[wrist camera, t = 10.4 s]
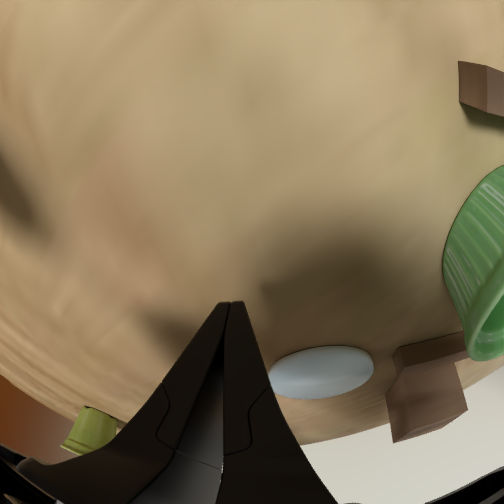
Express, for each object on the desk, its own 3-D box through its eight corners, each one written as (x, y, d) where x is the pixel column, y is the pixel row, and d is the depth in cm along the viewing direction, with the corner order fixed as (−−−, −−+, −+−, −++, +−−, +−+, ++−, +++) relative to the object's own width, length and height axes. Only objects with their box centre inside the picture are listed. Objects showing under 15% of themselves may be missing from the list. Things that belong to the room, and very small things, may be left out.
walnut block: (430, 383, 19) (441, 428, 15) (385, 394, 20) (393, 443, 16) (452, 357, 16) (467, 409, 12) (401, 370, 17) (413, 429, 13)
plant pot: (69, 394, 28) (54, 444, 21) (128, 419, 30) (117, 470, 24) (77, 407, 34) (66, 448, 27) (126, 427, 36) (117, 469, 29)
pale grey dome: (362, 385, 18) (363, 392, 17) (272, 395, 19) (272, 402, 18) (382, 338, 14) (384, 346, 13) (260, 351, 15) (260, 360, 14)
